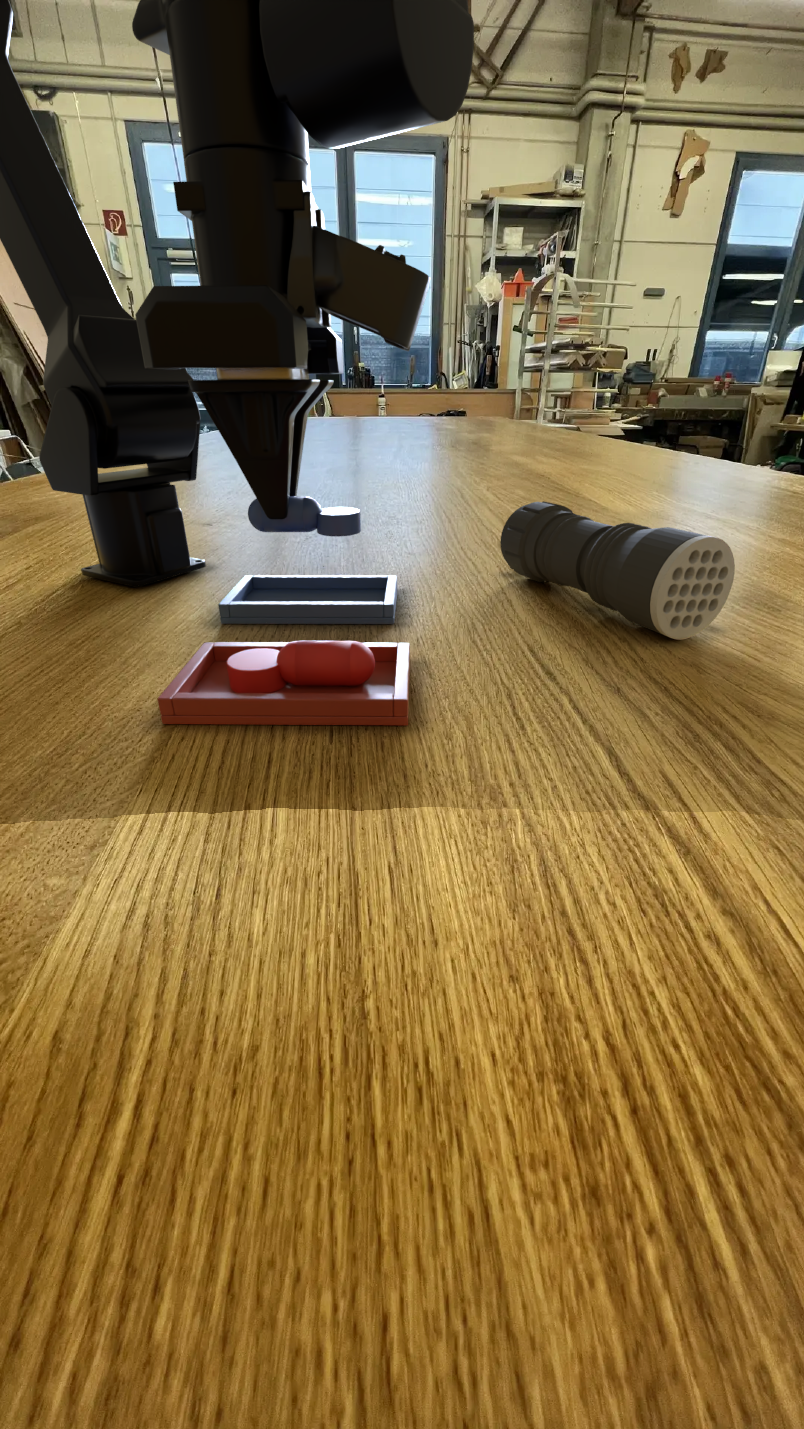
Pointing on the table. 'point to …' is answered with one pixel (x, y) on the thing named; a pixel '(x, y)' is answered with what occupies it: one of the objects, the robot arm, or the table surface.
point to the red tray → (287, 693)
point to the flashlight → (624, 566)
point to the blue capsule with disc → (308, 518)
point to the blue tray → (311, 600)
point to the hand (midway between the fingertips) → (281, 515)
